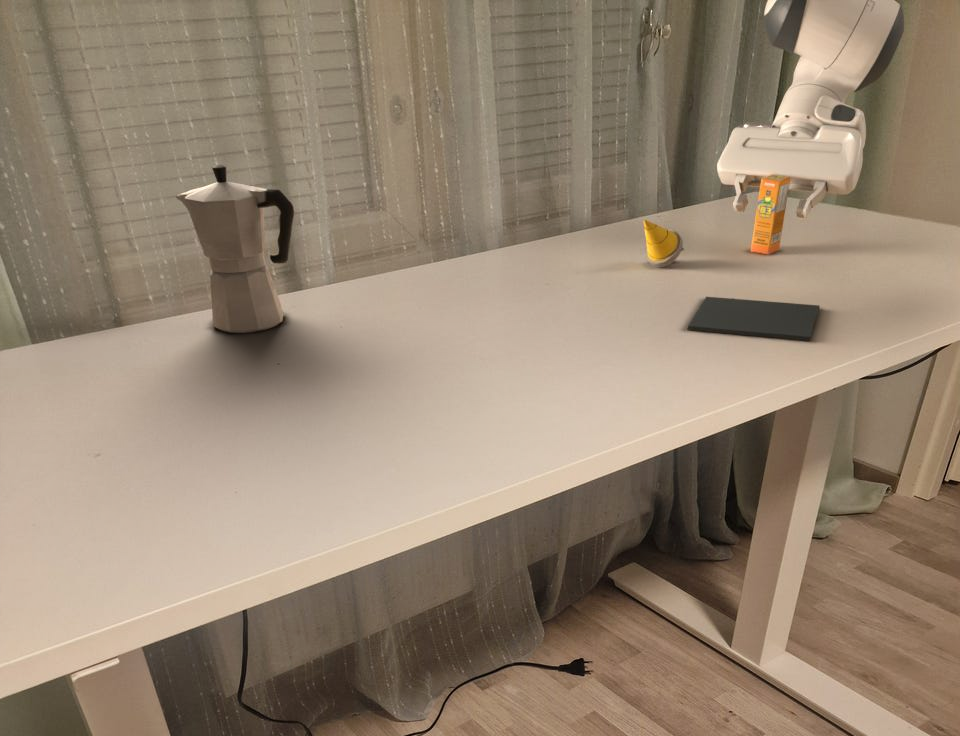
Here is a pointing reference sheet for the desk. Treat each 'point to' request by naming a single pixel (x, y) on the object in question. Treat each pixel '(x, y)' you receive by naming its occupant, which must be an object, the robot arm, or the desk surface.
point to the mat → (755, 318)
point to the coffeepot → (239, 250)
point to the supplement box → (770, 214)
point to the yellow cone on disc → (661, 244)
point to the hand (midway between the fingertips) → (769, 212)
